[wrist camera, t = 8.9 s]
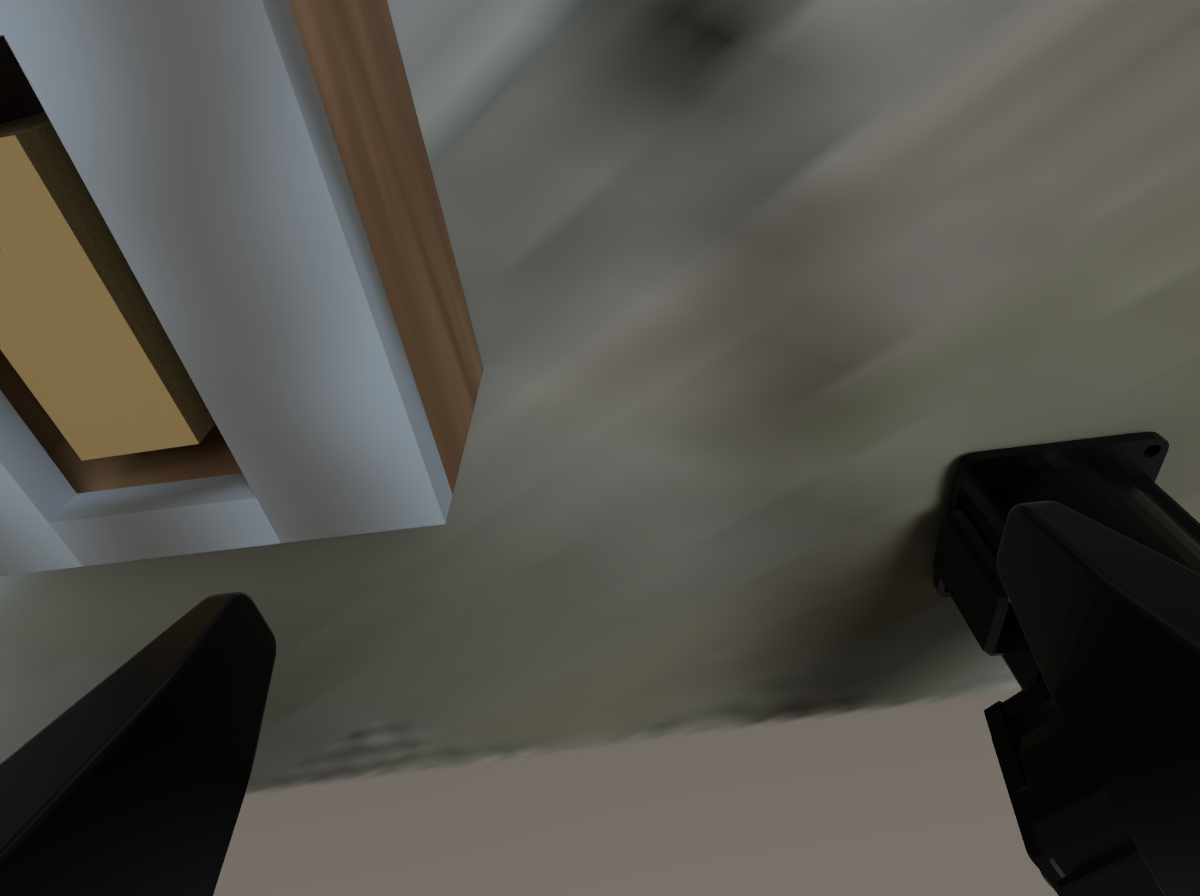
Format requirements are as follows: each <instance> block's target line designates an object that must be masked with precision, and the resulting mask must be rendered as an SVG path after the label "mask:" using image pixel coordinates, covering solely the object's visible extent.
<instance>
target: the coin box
mask: <svg viewBox="0 0 1200 896" xmlns="http://www.w3.org/2000/svg"><path fill="white" fill-rule="evenodd" d="M0 37H5V39H6V41H7V42H8V44H9V46H10V48H11V50H12V52H13V53H14V55H15V57H16V59H17V61H18V63H19V64H20V66H21V68H22V70H23V72H24V74H25V75H26V77H27V79H28V81H29V83H30V85H31V86H32V88H33V90H34V92H35V94H36V96H37V97H38V99H39V101H40V103H41V105H42V107H43V108H44V110H45V112H46V114H47V116H48V118H49V119H50V121H51V123H52V125H53V127H54V129H55V130H56V132H57V134H58V136H59V138H60V140H61V141H62V143H63V145H64V147H65V149H66V151H67V152H68V154H69V156H70V158H71V160H72V161H73V163H74V165H75V167H76V169H77V171H78V172H79V174H80V176H81V178H82V180H83V182H84V183H85V185H86V187H87V189H88V191H89V193H90V194H91V196H92V198H93V200H94V202H95V204H96V205H97V207H98V209H99V211H100V213H101V215H102V216H103V218H104V220H105V222H106V224H107V226H108V227H109V229H110V231H111V233H112V235H113V237H114V238H115V240H116V242H117V244H118V246H119V248H120V249H121V251H122V253H123V255H124V257H125V259H126V260H127V262H128V264H129V266H130V268H131V269H132V271H133V273H134V275H135V277H136V279H137V280H138V282H139V284H140V286H141V288H142V290H143V291H144V293H145V295H146V297H147V299H148V301H149V302H150V304H151V306H152V308H153V310H154V312H155V313H156V315H157V317H158V319H159V321H160V323H161V324H162V326H163V328H164V330H165V332H166V334H167V335H168V337H169V339H170V341H171V343H172V345H173V346H174V348H175V350H176V352H177V354H178V356H179V357H180V359H181V361H182V363H183V365H184V367H185V368H186V370H187V372H188V374H189V376H190V378H191V379H192V381H193V383H194V385H195V387H196V388H197V390H198V392H199V394H200V396H201V398H202V399H203V401H204V403H205V405H206V407H207V409H208V410H209V412H210V414H211V416H212V418H213V420H214V421H215V425H214V426H213V427H212V428H211V430H210V431H209V432H208V433H207V435H206V436H205V437H204V438H203V440H202V441H201V442H200V443H199V444H194V445H187V446H180V447H173V448H166V449H159V450H152V451H146V452H139V453H132V454H125V455H118V456H111V457H104V458H97V459H90V460H83V461H82V460H81V459H80V458H79V456H78V455H77V454H76V452H75V451H74V449H73V448H72V447H71V445H70V444H69V443H68V441H67V440H66V438H65V437H64V436H63V434H62V433H61V432H60V430H59V429H58V428H57V426H56V425H55V423H54V422H53V421H52V419H51V418H50V417H49V415H48V414H47V412H46V411H45V410H44V408H43V407H42V406H41V404H40V403H39V402H38V400H37V399H36V397H35V396H34V395H33V393H32V392H31V391H30V389H29V388H28V386H27V385H26V384H25V382H24V381H23V380H22V378H21V377H20V376H19V374H18V373H17V371H16V370H15V369H14V367H13V366H12V365H11V363H10V362H9V360H8V359H7V358H6V356H5V355H4V354H3V352H2V351H1V350H0V576H6V575H15V574H23V573H32V572H40V571H49V570H58V569H66V568H75V567H83V566H92V565H100V564H109V563H117V562H126V561H134V560H143V559H151V558H160V557H169V556H177V555H186V554H194V553H203V552H211V551H220V550H228V549H237V548H245V547H254V546H262V545H271V544H280V543H288V542H297V541H305V540H314V539H322V538H331V537H339V536H348V535H356V534H365V533H373V532H382V531H391V530H399V529H408V528H416V527H425V526H433V525H442V524H446V520H447V516H448V512H449V508H450V504H451V500H452V495H453V491H454V487H455V483H456V479H457V475H458V471H459V467H460V463H461V458H462V454H463V450H464V446H465V442H466V438H467V434H468V430H469V425H470V421H471V417H472V413H473V409H474V405H475V401H476V397H477V393H478V388H479V384H480V380H481V376H482V372H483V366H482V362H481V358H480V354H479V350H478V347H477V343H476V339H475V335H474V331H473V328H472V324H471V320H470V316H469V312H468V309H467V305H466V301H465V297H464V293H463V290H462V286H461V282H460V278H459V274H458V270H457V267H456V263H455V259H454V255H453V251H452V248H451V244H450V240H449V236H448V232H447V229H446V225H445V221H444V217H443V213H442V210H441V206H440V202H439V198H438V194H437V191H436V187H435V183H434V179H433V175H432V172H431V168H430V164H429V160H428V156H427V153H426V149H425V145H424V141H423V137H422V134H421V130H420V126H419V122H418V118H417V115H416V111H415V107H414V103H413V99H412V95H411V92H410V88H409V84H408V80H407V76H406V73H405V69H404V65H403V61H402V57H401V54H400V50H399V46H398V42H397V38H396V35H395V31H394V27H393V23H392V19H391V16H390V12H389V8H388V4H387V0H0Z"/></svg>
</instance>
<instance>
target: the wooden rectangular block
mask: <svg viewBox="0 0 1200 896" xmlns="http://www.w3.org/2000/svg"><path fill="white" fill-rule="evenodd" d="M0 350H1V351H2V352H3V354H4V355H5V356H6V358H7V359H8V360H9V362H10V363H11V365H12V366H13V367H14V369H15V370H16V371H17V373H18V374H19V376H20V377H21V378H22V380H23V381H24V382H25V384H26V385H27V386H28V388H29V389H30V391H31V392H32V393H33V395H34V396H35V397H36V399H37V400H38V402H39V403H40V404H41V406H42V407H43V408H44V410H45V411H46V412H47V414H48V415H49V417H50V418H51V419H52V421H53V422H54V423H55V425H56V426H57V428H58V429H59V430H60V432H61V433H62V434H63V436H64V437H65V438H66V440H67V441H68V443H69V444H70V445H71V447H72V448H73V449H74V451H75V452H76V454H77V455H78V456H79V458H80V459H81V460H82V461H83V460H90V459H97V458H104V457H111V456H118V455H125V454H132V453H139V452H146V451H152V450H159V449H166V448H173V447H180V446H187V445H194V444H199V443H200V442H201V441H202V440H203V438H204V437H205V436H206V435H207V433H208V432H209V431H210V430H211V428H212V427H213V426H214V425H215V421H214V420H213V418H212V416H211V414H210V412H209V410H208V409H207V407H206V405H205V403H204V401H203V399H202V398H201V396H200V394H199V392H198V390H197V388H196V387H195V385H194V383H193V381H192V379H191V378H190V376H189V374H188V372H187V370H186V368H185V367H184V365H183V363H182V361H181V359H180V357H179V356H178V354H177V352H176V350H175V348H174V346H173V345H172V343H171V341H170V339H169V337H168V335H167V334H166V332H165V330H164V328H163V326H162V324H161V323H160V321H159V319H158V317H157V315H156V313H155V312H154V310H153V308H152V306H151V304H150V302H149V301H148V299H147V297H146V295H145V293H144V291H143V290H142V288H141V286H140V284H139V282H138V280H137V279H136V277H135V275H134V273H133V271H132V269H131V268H130V266H129V264H128V262H127V260H126V259H125V257H124V255H123V253H122V251H121V249H120V248H119V246H118V244H117V242H116V240H115V238H114V237H113V235H112V233H111V231H110V229H109V227H108V226H107V224H106V222H105V220H104V218H103V216H102V215H101V213H100V211H99V209H98V207H97V205H96V204H95V202H94V200H93V198H92V196H91V194H90V193H89V191H88V189H87V187H86V185H85V183H84V182H83V180H82V178H81V176H80V174H79V172H78V171H77V169H76V167H75V165H74V163H73V161H72V160H71V158H70V156H69V154H68V152H67V151H66V149H65V147H64V145H63V143H62V141H61V140H60V138H59V136H58V134H57V132H56V130H55V129H54V127H53V125H52V123H51V121H50V119H49V118H48V116H47V114H46V112H43V113H39V114H36V115H32V116H28V117H25V118H21V119H18V120H14V121H10V122H7V123H3V124H0Z"/></svg>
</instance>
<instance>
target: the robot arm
mask: <svg viewBox="0 0 1200 896" xmlns="http://www.w3.org/2000/svg"><path fill="white" fill-rule="evenodd" d="M1168 448H1169V443H1168V441H1167V440H1165V439H1164V438H1163V437H1162V436H1161V435H1159V434H1158V433H1156V432H1142V433H1133V434H1125V435H1116V436H1108V437H1099V438H1091V439H1082V440H1074V441H1065V442H1057V443H1048V444H1040V445H1031V446H1023V447H1014V448H1006V449H997V450H989V451H980V452H974V453H970V454H968V455H966V456H964V457H963V458H962V459H961V460H960V461H959V463H958V465H957V468H956V473H955V478H954V483H953V488H952V492H951V497H950V502H949V507H948V510H947V511H946V512H945V514H944V515H943V518H942V523H941V527H940V532H939V537H938V542H937V547H936V552H935V557H934V562H933V566H934V568H935V569H936V570H935V574H934V579H933V585H934V587H935V589H936V590H937V592H938V593H939V595H941V596H943V597H952V598H953V600H954V602H955V604H956V605H957V607H958V609H959V610H960V612H961V614H962V616H963V617H964V619H965V621H966V622H967V624H968V626H969V628H970V629H971V631H972V633H973V634H974V636H975V638H976V640H977V641H978V643H979V645H980V646H981V648H982V650H983V651H985V652H986V653H987V654H988V655H990V656H1000V655H1002V657H1003V659H1004V660H1005V662H1006V664H1007V665H1008V667H1009V669H1010V670H1011V672H1012V674H1013V675H1014V677H1015V678H1016V680H1017V682H1018V683H1019V685H1020V687H1021V688H1022V691H1020V692H1018V693H1017V694H1016V695H1014V696H1012V697H1011V698H1009V699H1007V700H1006V701H1004V702H1001V701H998V702H997V703H995V704H993V705H992V706H990V707H989V708H987V709H985V710H984V713H985V717H986V720H987V723H988V726H989V730H990V733H991V736H992V741H993V744H994V748H995V751H996V754H997V757H998V761H999V764H1000V767H1001V770H1002V773H1003V777H1004V780H1005V783H1006V786H1007V789H1008V793H1009V796H1010V799H1011V803H1012V806H1013V809H1014V812H1015V815H1016V819H1017V822H1018V825H1019V828H1020V832H1021V835H1022V838H1023V841H1024V845H1025V848H1026V851H1027V853H1028V855H1029V857H1030V858H1031V860H1032V861H1033V863H1034V864H1035V865H1036V866H1037V867H1038V868H1039V869H1040V871H1041V874H1042V876H1043V877H1044V879H1045V880H1046V881H1047V883H1048V884H1049V885H1050V886H1051V887H1053V888H1054V890H1055V891H1056V892H1057V894H1058V895H1059V896H1200V523H1199V522H1198V521H1197V520H1195V519H1194V518H1193V517H1192V516H1191V515H1190V514H1189V513H1188V512H1187V511H1185V510H1184V509H1183V508H1182V507H1181V506H1180V505H1179V504H1178V503H1177V502H1176V501H1174V500H1173V499H1172V498H1171V497H1170V496H1169V495H1168V494H1167V493H1166V492H1165V491H1163V490H1162V489H1161V488H1160V487H1159V486H1158V485H1157V484H1156V483H1155V480H1156V477H1157V475H1158V473H1159V470H1160V468H1161V466H1162V463H1163V461H1164V458H1165V456H1166V454H1167V451H1168ZM975 466H979V467H977V468H976V469H974V470H971V469H973V468H974V467H975ZM275 657H276V641H275V637H274V635H273V632H272V631H271V629H270V628H269V626H268V624H267V623H266V621H265V619H264V618H263V616H262V615H261V613H260V611H259V610H258V608H257V606H256V605H255V603H254V602H253V600H252V599H251V597H250V596H248V595H247V594H245V593H242V592H234V593H225V594H216V595H212V596H209V597H207V598H205V599H204V600H203V601H201V602H200V603H199V604H198V605H196V606H195V607H194V608H193V609H191V610H190V611H189V612H188V613H187V614H185V615H184V616H183V617H182V618H180V619H179V620H178V621H177V622H175V623H174V624H173V625H172V626H170V627H169V628H168V629H167V630H165V631H164V632H163V633H162V634H161V635H159V636H158V637H157V638H156V639H154V640H153V641H152V642H151V643H149V644H148V645H147V646H146V647H144V648H143V649H142V650H141V651H139V652H138V653H137V654H136V655H135V656H133V657H132V658H131V659H130V660H128V661H127V662H126V663H125V664H123V665H122V666H121V667H120V668H118V669H117V670H116V671H115V672H113V673H112V674H111V675H110V676H108V677H107V678H106V679H105V680H104V681H102V682H101V683H100V684H99V685H97V686H96V687H95V688H94V689H92V690H91V691H90V692H89V693H87V694H86V695H85V696H84V697H82V698H81V699H80V700H79V701H78V702H76V703H75V704H74V705H73V706H71V707H70V708H69V709H68V710H66V711H65V712H64V713H63V714H61V715H60V716H59V717H58V718H56V719H55V720H54V721H53V722H52V723H50V724H49V725H48V726H47V727H45V728H44V729H43V730H42V731H40V732H39V733H38V734H37V735H35V736H34V737H33V738H32V739H30V740H29V741H28V742H27V743H26V744H24V745H23V746H22V747H21V748H19V749H18V750H17V751H16V752H14V753H13V754H12V755H11V756H9V757H8V758H7V759H6V760H4V761H3V762H2V763H1V764H0V896H213V894H214V890H215V887H216V884H217V881H218V877H219V875H220V871H221V868H222V865H223V862H224V859H225V856H226V852H227V849H228V846H229V843H230V840H231V836H232V833H233V830H234V827H235V824H236V821H237V818H238V815H239V811H240V808H241V805H242V802H243V799H244V795H245V792H246V789H247V785H248V782H249V778H250V775H251V771H252V766H253V762H254V758H255V754H256V749H257V744H258V739H259V734H260V730H261V725H262V720H263V715H264V710H265V705H266V701H267V696H268V691H269V686H270V681H271V676H272V671H273V667H274V662H275Z"/></svg>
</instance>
